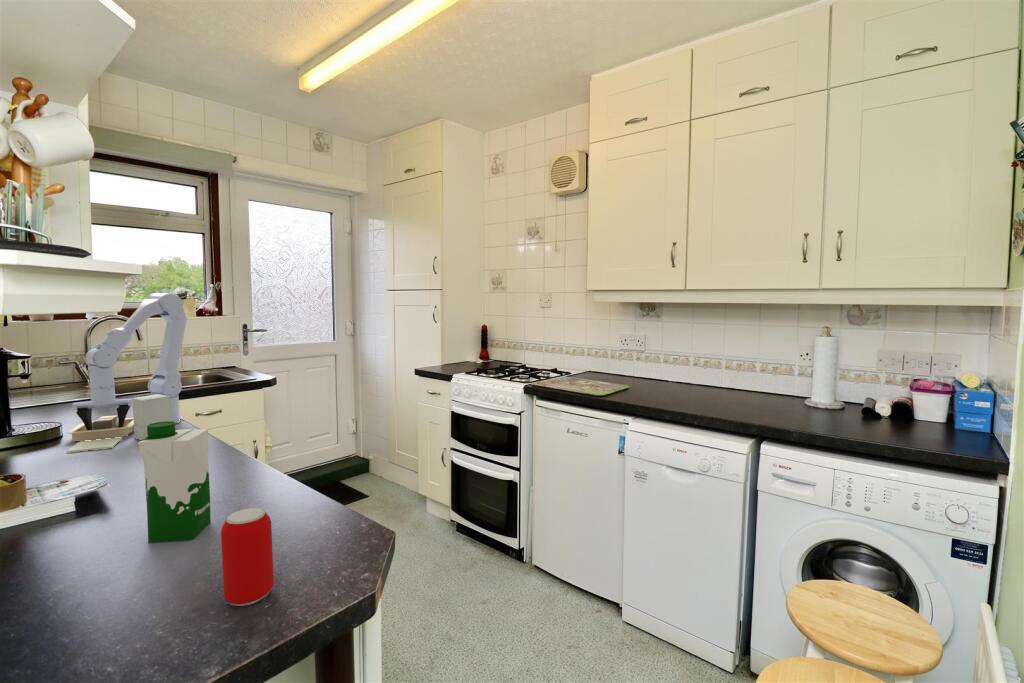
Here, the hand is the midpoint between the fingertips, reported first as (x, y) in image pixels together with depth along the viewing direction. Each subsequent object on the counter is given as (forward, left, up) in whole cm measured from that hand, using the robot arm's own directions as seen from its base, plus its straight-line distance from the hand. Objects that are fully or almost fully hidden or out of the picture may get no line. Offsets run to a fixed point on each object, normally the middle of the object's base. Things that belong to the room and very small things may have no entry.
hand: (105, 430), depth 151 cm
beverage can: (+114, +44, -2) cm, 122 cm away
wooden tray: (0, 0, -1) cm, 1 cm away
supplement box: (+10, +14, -2) cm, 17 cm away
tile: (+14, +1, -1) cm, 14 cm away
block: (0, 0, -1) cm, 1 cm away
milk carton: (+86, +32, -2) cm, 92 cm away
